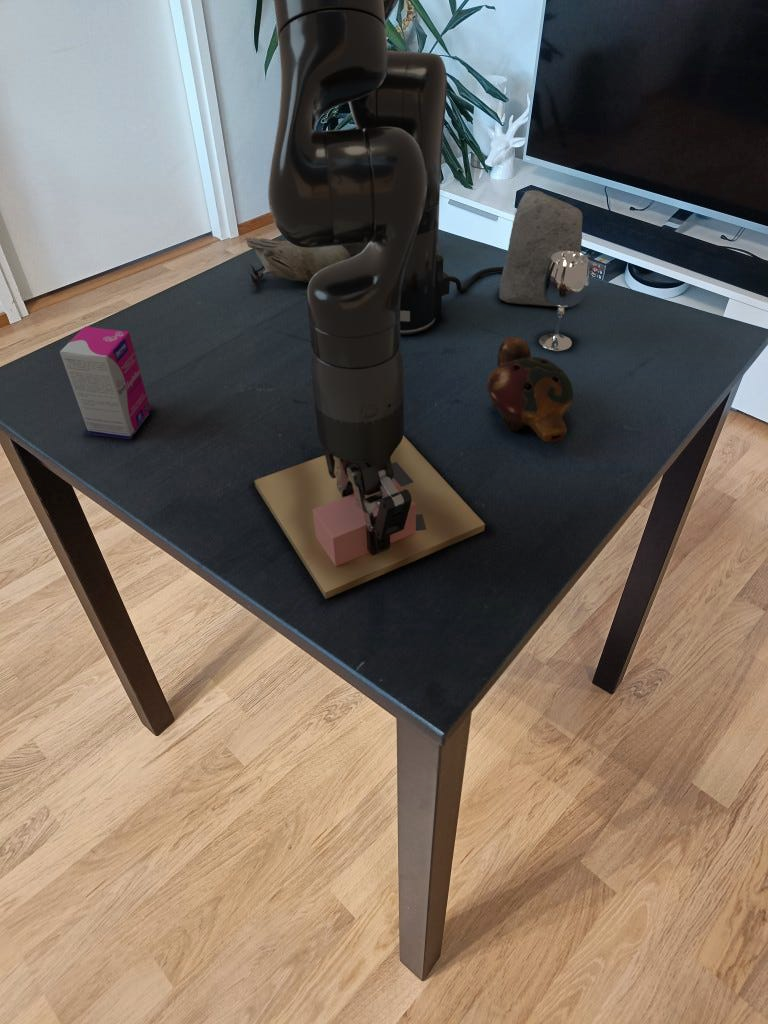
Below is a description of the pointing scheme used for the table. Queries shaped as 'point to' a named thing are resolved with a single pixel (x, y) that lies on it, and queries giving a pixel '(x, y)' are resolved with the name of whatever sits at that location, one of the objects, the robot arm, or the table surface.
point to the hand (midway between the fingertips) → (366, 533)
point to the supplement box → (106, 381)
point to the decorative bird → (294, 259)
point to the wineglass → (564, 291)
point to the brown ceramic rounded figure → (530, 391)
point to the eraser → (351, 528)
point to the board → (312, 487)
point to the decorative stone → (537, 245)
